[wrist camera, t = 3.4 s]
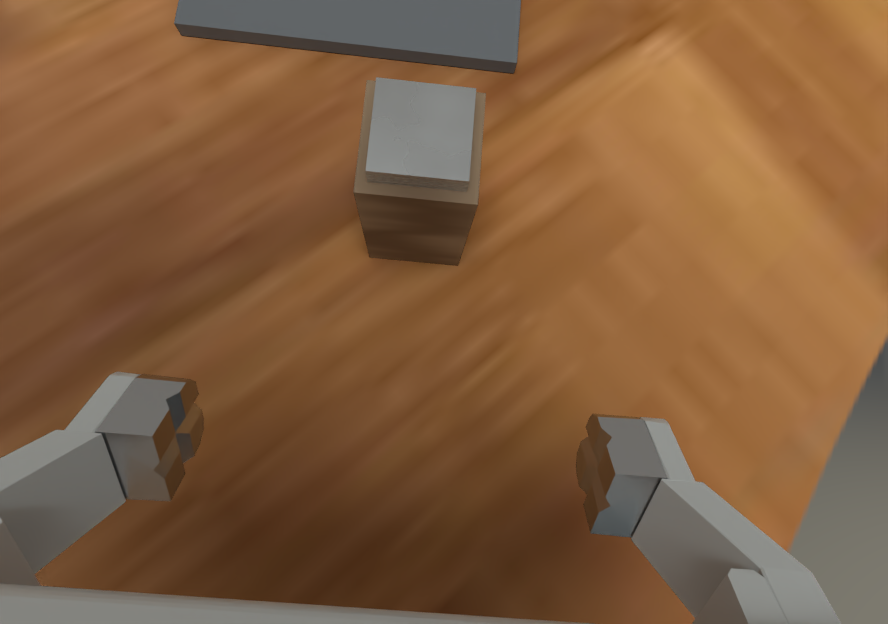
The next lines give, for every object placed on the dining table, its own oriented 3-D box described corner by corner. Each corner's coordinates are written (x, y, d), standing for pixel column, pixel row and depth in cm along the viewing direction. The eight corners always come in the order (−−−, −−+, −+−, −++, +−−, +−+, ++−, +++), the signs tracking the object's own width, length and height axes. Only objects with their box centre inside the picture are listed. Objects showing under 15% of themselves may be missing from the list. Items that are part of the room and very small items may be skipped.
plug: (369, 257, 24) (350, 181, 16) (378, 174, 25) (364, 64, 17) (457, 265, 24) (481, 194, 17) (464, 183, 25) (489, 78, 17)
